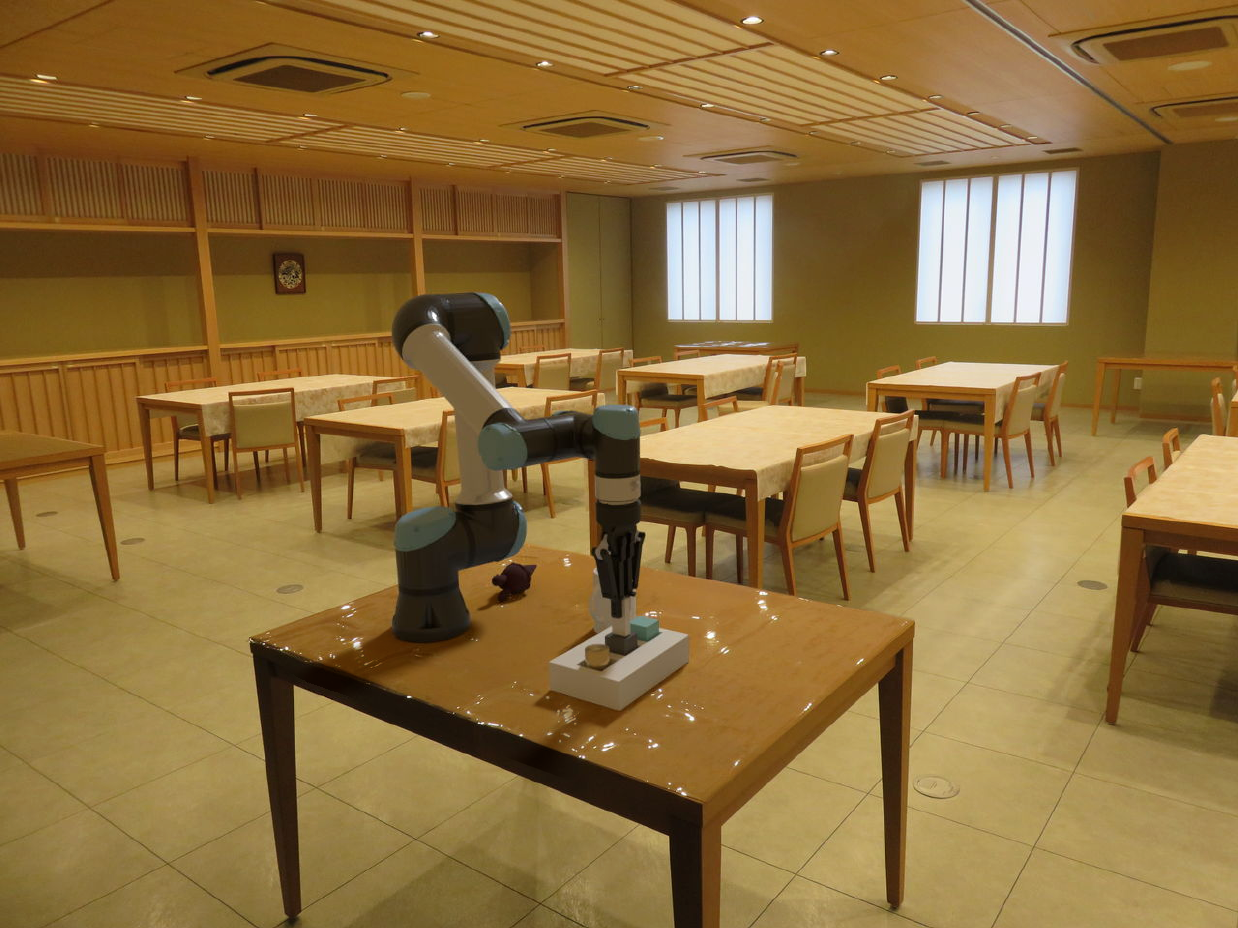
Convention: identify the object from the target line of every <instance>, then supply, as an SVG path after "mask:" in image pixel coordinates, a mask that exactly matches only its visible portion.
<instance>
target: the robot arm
mask: <svg viewBox="0 0 1238 928" xmlns="http://www.w3.org/2000/svg"><path fill="white" fill-rule="evenodd" d="M511 328H512V327H511V322H510V318H509V315H508V312H507V309H506V308H505V306H504V305H503V304H502V303H501V302H500V300H499V298H497V297H496V296H495V295H493V294H490V293H486V292H476V291H474V292H471V291H469V292H456V293H455V292H454V293H453V292H452V293H451V292H450V293H436V294H435V293H434V294H433V293H425V294H419V295H416V296H413V297H412V298H409V299H408V300H406V301H405V302H404V303H403V304H402V305H401V306H400V307H399V309H398V310H397V312H396V313H395V315H394V317H393V320H392V324H391V341H392V344H393V346H394V349H395V352H396V353H397V355H398V356H399V358H400V359H401V360H402V361H403V362H404V363H405V364H406V365H407V366H408V367H409V368H410V369H412V370H415V371H419V372H421V374H422V375H423V376H424V377H425V378H426V379H427V380H428V382H430V384H431V385H432V386H433V387H434V388H435V389H436V390H437V391H438V392H439V393H440V394H441V395H442V397H444V399H445V400H446V401H447V403H449V404H450V406H451V407H453V415H454V416H453V417H454V425H455V436H456V437H455V438H456V447H457V448H456V449H457V456H458V457H457V459H458V467H459V468H458V469H459V479H460V488H461V489H460V490H461V491H460V492H459V493H458V495H457V496H456V497H455V498H454V509H455V511H454V509H453V508H452V507H449V506H444V505H443V506H442V505H441V506H440V505H437V506H432V507H429V506H428V507H427V506H426V507H423V508H418V509H415V510H412V511H410V512H408V513H406V514H404V515H402V516H401V517H400V518H399V519H398V521H397V522H396V523H395V525H394V540H393V544H394V545H393V546H394V549H395V560H396V561H395V562H396V573H397V584H398V585H397V586H398V587H397V588H398V595H397V599H396V600H397V601H396V605H395V610H394V615H393V616H392V619H391V628H392V629H391V630H392V631H391V632H392V634H393V636H395V637H396V638H398V639H400V640H402V641H404V642H405V641H406V642H411V643H431V642H441V641H445V640H449V639H453V638H455V637H458V636H460V635H462V634H463V633H465V632H466V631H467V630H469V628H470V626H471V613H470V610H469V609H468V607H467V605H466V601H465V598H464V595H463V594H462V591H461V589H460V582H459V581H460V578H459V572H460V571H462V570H468V569H471V568H475V567H479V566H482V565H486V564H487V565H488V564H491V563H494V562H495V563H498V562H502V561H504V560H506V559H508V558H513V557H514V556H515V555H517V554H518V553H519V552H520V551H521V549H522V548H523V546H524V545H525V542H526V539H527V535H528V532H527V531H528V523H527V517H526V514H525V513H524V512H523V511H524V510H523V507H522V506H521V505H520V503H518V502H517V501H515V500H514V498H513V493H511V491H509V490H508V489H507V488H506V487H505V484H504V483H505V480H504V473H503V472H504V470H508V471H512V470H517V469H520V468H525V467H531V466H536V465H540V464H544V463H545V464H547V463H552V462H558V461H563V460H567V459H573V458H583V459H587V460H591V461H594V497H595V498H596V499H597V500H596V502H595V521H596V522H597V523H598V524H599V526H600V527H601V534H600V537H599V538H600V544H599V545H598V546H596V547H594V546H593V547H592V548H591V550H590V551H591V556H592V557H593V558H594V560H595V567H597V572H598V577H599V582H600V587H601V593H602V597H603V598H607V599H610V600H611V616H612V633H613V634H617V635H621V636H625V637H626V636H627V635H629V634H630V596H632V597H635V598H636V595H637V591H635V592H633V589H635V590H637V589H638V588H639V579H640V572H641V570H640V569H641V562H642V554H643V546H644V543H645V539H646V532H645V531H640V530H638V526H637V525H638V524H639V523H640V522H641V521H642V502H641V500H640V499H639V498H640V497H641V493H642V492H641V486H642V483H641V433H642V430H641V427H640V415H639V411H638V409H637V408H636V407H635V406H633V405H629V404H605V405H599V406H597V407H595V408H594V409H593V412H592V413H593V414H591V413H587V412H586V413H585V412H581V411H577V410H574V409H573V410H572V409H571V410H559V411H555V412H554V413H552V414H551V415H550V416H544V417H536V418H528V419H527V418H525V417H524V416H523V415H522V414H521V413H520V412H519V411H517V410H516V408H515V407H514V406H513V405H512V404H511V403H510V402H509V401H508V400H507V399H506V398H505V397H504V396H503V395H502V394H501V393H500V392H499V391H498V390H497V389H496V378H495V368H496V366H497V365H498V364H499V363H500V362H501V361H502V358H501V357H502V355H501V351H504V349H506V348H507V347H508V345H509V343H510V341H509V340H510V339H511V335H512V329H511ZM632 580H633V581H632Z"/></svg>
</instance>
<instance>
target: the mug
mask: <svg viewBox="0 0 1238 928" xmlns="http://www.w3.org/2000/svg"><path fill="white" fill-rule="evenodd" d="M592 577H593V578H592V579H593V581H592V582H593V590H592V592H591V594H590V596H589V601H588V608H589V611H588V612H589V614H590V616H591V618H592V619H593V623H594V624H593V631H594V632H595V634H596V635H597V634H599V633H600V632H602V631H604V630H606V629H607V628H609V627H611V626H612V616H611V600H610V599H607V598H603V597H602V593H601V587H600V582H599V577H598V572H597V566H595V568H594V569H593V571H592ZM632 581H633V580H632ZM633 592H636V589H633ZM636 605H637V604H636V596H635V597H632V596H630V621H632V620H633V619H635V618H637V614H636V613H637V610H636V609H637V608H636Z"/></svg>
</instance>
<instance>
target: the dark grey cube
mask: <svg viewBox="0 0 1238 928" xmlns="http://www.w3.org/2000/svg"><path fill="white" fill-rule="evenodd" d="M605 645H607V646H608V647H609V652H611V653H615V654H619V655H622V656H627V655H628V654H630V653H631V652H633V651H634V650H636V649H638V644H637V633H635V632H631V631H630V634H629V635H627V636H626V637H625V636H621V635H617V634H613V633H612V632H611V633H609V634H607V635H606V636H605Z"/></svg>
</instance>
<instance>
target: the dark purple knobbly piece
mask: <svg viewBox="0 0 1238 928" xmlns="http://www.w3.org/2000/svg"><path fill="white" fill-rule="evenodd" d="M537 567H538V565H537V564H521V563H516V562H513V561H512V562H510V563H509V564H507V565H506V566H505V567H504V569H503V570H502V572H501V573H500V574H498V573H497V574H496V575H495V576H493V577H492V578H491V584H492V585H493V586H495V587H499V588H500V589H501V591H499V593H498V594H497V601H498V602H499V603H503V602H505V601H507V599H508V598H509V597H510V596H511V595H513V594H514V595H517V594H520V593H523V592H525V591H527V590H529V589H530V588H531V583H532V582H531V580H532V576H533V574H534V572H535V571H536V569H537Z"/></svg>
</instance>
